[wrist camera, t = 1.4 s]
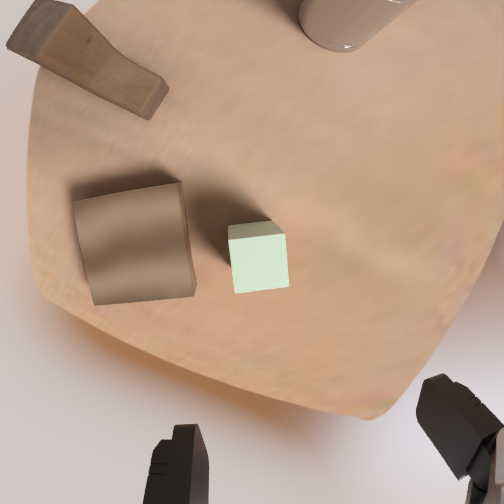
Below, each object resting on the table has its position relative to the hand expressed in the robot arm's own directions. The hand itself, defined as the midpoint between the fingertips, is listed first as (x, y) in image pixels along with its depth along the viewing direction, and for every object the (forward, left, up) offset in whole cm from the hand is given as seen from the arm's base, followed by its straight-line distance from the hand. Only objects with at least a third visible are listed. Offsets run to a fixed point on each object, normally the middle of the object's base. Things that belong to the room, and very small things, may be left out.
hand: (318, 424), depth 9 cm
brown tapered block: (-2, -13, -28) cm, 31 cm away
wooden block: (-20, -12, -28) cm, 36 cm away
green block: (0, 0, -28) cm, 28 cm away
